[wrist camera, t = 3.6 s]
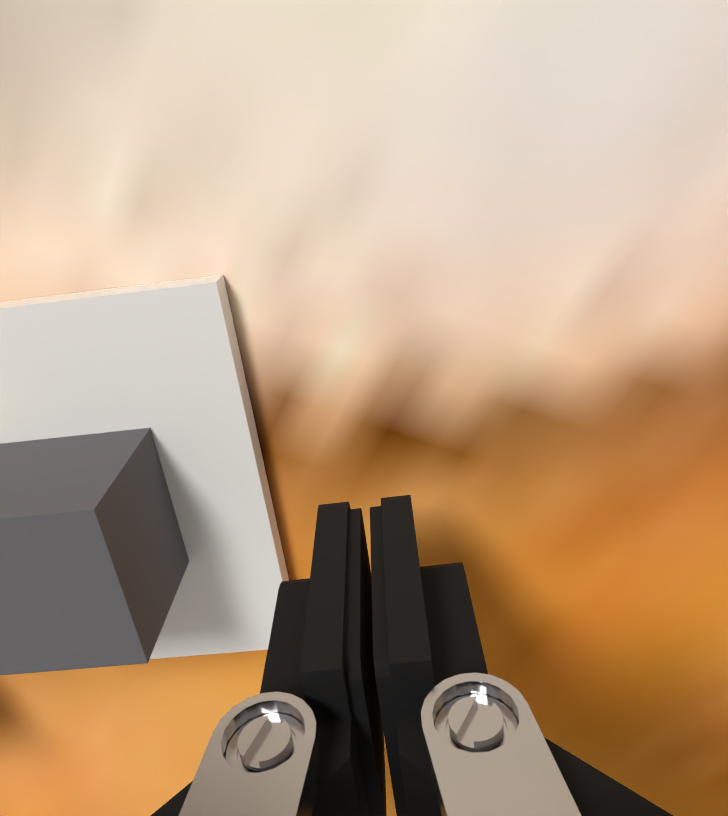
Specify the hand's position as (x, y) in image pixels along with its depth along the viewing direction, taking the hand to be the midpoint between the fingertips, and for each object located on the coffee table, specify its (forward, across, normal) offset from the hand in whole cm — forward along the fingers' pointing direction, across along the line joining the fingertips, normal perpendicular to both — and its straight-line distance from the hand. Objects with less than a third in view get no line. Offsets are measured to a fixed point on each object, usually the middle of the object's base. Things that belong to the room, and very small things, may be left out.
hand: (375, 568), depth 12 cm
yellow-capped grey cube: (+3, +6, 0) cm, 7 cm away
